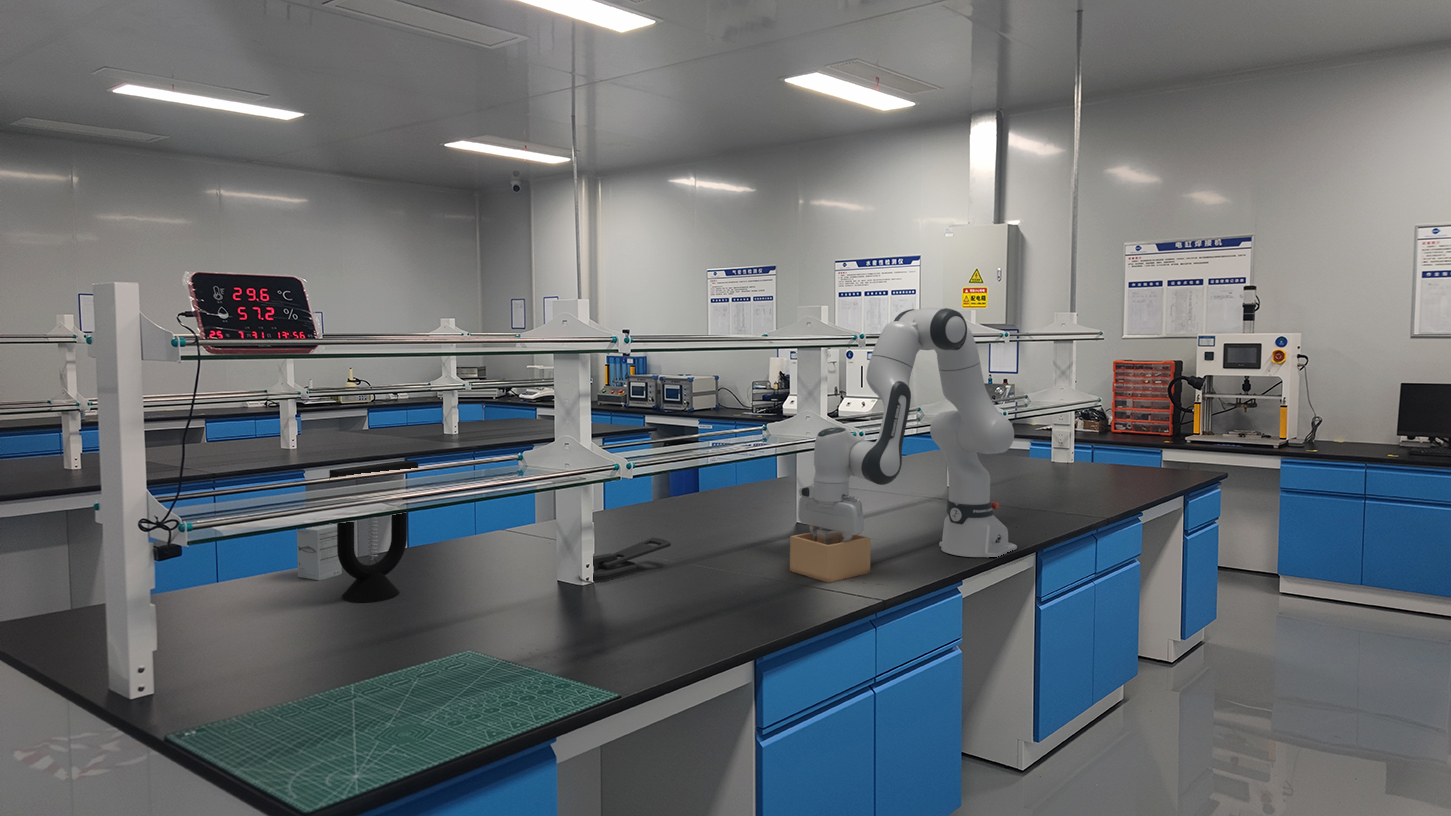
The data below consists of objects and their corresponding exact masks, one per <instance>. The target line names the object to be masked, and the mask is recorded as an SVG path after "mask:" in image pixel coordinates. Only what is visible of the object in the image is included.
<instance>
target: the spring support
mask: <svg viewBox="0 0 1451 816" xmlns="http://www.w3.org/2000/svg"><path fill="white" fill-rule="evenodd" d="M411 468H419V463H418V462H417V461H413V460H406V459H405V460H398V461H397V460H396V461H389V462H383V463H382V462H381V463H375V464H366V465H357V466H350V467H342V468H336V469H335V468H334V469H329V472H328V473H329V479H330V478H331V477H338V476H346V475H354V474H361V473H371V472H380V471H389V470H400V469H411ZM390 516H391V515H390ZM373 518H374V519H371V518H369V519H368V522H369V523H368V537H369V538H368V541H369V542H368V545H369V546H368V548H369V549H368V556H370V557H371V558H370V561H369V562H368V564H365V563H362V562H360V561H359V559H358V557H357V555H356V552H355V521H354V522H346V523H338V524H337V523H336V525H337V553H338V558H339V561H340V564H341V566H342V569H343V570H344V571H345V572H346V573H347V574H348V575H349V576H351V577H352V578H354V579H355V580H354V581H353V582H352V583H351V585H350V586H349V587H348V588H347V589H346V590H345V591H344V593H343V594H342V596H341V597H342V599H343V600H345V601H348V602H353V603H373V602H375V603H376V602H381V601H382V602H383V601H386V600H387V601H388V600H390V599H393V598H396V597H397V596H399V594H400V590H399V589H398V588H397V586H395V585H394V584H393V583H392V582H391V581H390V579H389V578H388V577H387V576H386V575H388V574H389V573H390V572H392V571H393V570H394V568H396V567H397V566H398V563H400V561H401V559H402V557H403V555H404V553H405V550H406V546H407V542H408V540H407V539H408V512H407V513H402V514H396V515H392V516H391V517H390V518H391V519H390V520H391V521H390V525H391V526H390V527H391V528H390V530H391V532H390V533H391V534H390V535H391V537H390V545H389V547H388V550H387V551H386V553H385V555H384V556H383V557H382V558H381V559H380V560H378V561H377V559H375V558H376V557H379V555H378V554H377V553H379V551H378V549H379V547H377V546H378V545H379V543H377V542H379V540H378V539H376V538H378V537H379V536H378V534H379V532H373V531H379V529H378V528H376V527H379V525H378V524H377V523H379V522H378V521H377V520H378V519H379V517H377V518H376V517H373ZM375 520H376V521H375ZM374 527H375V528H374ZM375 535H376V536H375ZM375 542H376V543H375ZM373 561H375V563H373V564H370V562H373Z"/></svg>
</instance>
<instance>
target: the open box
mask: <svg viewBox="0 0 1451 816" xmlns="http://www.w3.org/2000/svg"><path fill="white" fill-rule="evenodd" d="M789 537H790V539H789V540H790V542H789V543H790V544H789V546H790V547H789V571H790V572H791V571H792V572H791V573H794V574H799V575H801V576H804V575H805V576H804V577H808V578H811V579H814V580H818V581H821V582H825V583H828V584H829V583H833V582H838V581H840V580H841V581H842V580H844V579H845V578H846V579H849V578H853V577H857V576H858V575H859V576H863V575H867V574H871V546H872V544H871V542H872V541H871V538H872V537H869V536H865V535H862V534H858V535H852V538H851V540H850V541H847V542H842V543H837V544H832V545H826V544H822V543H818V542H814V541H813V536H812V534H811V532H807V533H806V532H805V533H801V534H795V535H790V536H789ZM846 579H845V580H846Z"/></svg>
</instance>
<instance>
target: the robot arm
mask: <svg viewBox="0 0 1451 816" xmlns="http://www.w3.org/2000/svg"><path fill="white" fill-rule="evenodd" d="M920 350H921V351H932V350H934V351H935V354H936V359H937V367H938V372H939V377H940V384H941V391H942V394H943V396H944V398H945V399H946V400H947V401H948V402H950V403H951V404H952V405H953V406H954V408H955V409H956V410H949V411H943V412H939V413H937V414H936V415H935V416H934V417H933V418H932V420H931V423H930V427H929V432H930V436H931V439H932V441H933V442H934V443H935V444H936V445H937V446H938V448H939V449H940V451H941V453H942V455H943V458H944V460H945V464H946V468H947V472H948V475H947V476H948V500H946V513H947V516H946V517H945V518H944V523H943V530H942V539H941V540H940V541H939V545H938V546H939V547H940V548H941V551H942V552H943V553H945V554H950V555H954V556H960V557H967V558H968V557H969V558H989V557H997V558H999V557H1001V555H1002V556H1003V554H1004V555H1006V554H1008V553H1007V552H1009V553H1011V552H1013V551H1015V550H1018V545H1016V544H1014V543H1012V542H1009V530H1008V528H1007V527H1006V525H1004V524H1003V523H1002V522H1001V521H1000V520H999V519H998V518H997V517H996V516H995V515H994V513H995V512H994V510H998V509H999V508H1000V503H999V502H994V501H991V474H990V473H989V471H988V469H986V467H985V466H983V465H982V463H981V461H980V460H979V457H978V454H984V455H996V454H1003V453H1006V452H1007V451H1009V449H1010V448H1011V447H1012V444H1013V442H1014V440H1015V429H1014V427H1013V424H1012V422H1011V421H1010V420H1009V419H1008V418H1007V417H1005V416H1004V415H1003V414H1002V413H1001V412H1000V411H999V410H998V408H997V407H996V406H995V404H994V402H993V401H992V399H991V397H990V395H989V393H988V391H987V388H986V385H985V380H984V375H983V371H982V367H981V366H982V365H981V360H980V355H979V350H978V346H977V343H976V341H975V338H974V335H973V333H972V330H971V329H970V328H969V327H968V326H967V321H966V319H965V317H964V316H963V314H962V313H961V312H959V311H957V310H956V309H953V308H947V307H946V308H938V307H924V308H918V309H914V308H912V309H907V310H904V311H902V312H900V313H899V314H898V315H897V316H896V317H895V318H894V320H893V321H890V322H889V323H887V324H886V325H885V326H884V327H883V329H882V331H881V333H880V335H879V337H878V339H877V341H876V343H875V345H874V348H873V350H872V352H871V356H870V358H869V362H868V365H867V370H866V381H867V384H868V386H869V388H870V389H871V391H872V392H873V393H874V394H875V395H876V396H877V397H879V398H880V400H881V401H882V404H883V414H882V419H881V423H880V424H881V425H880V427H879V433H878V437H877V439H876V441H870V440H866V439H863V438H860V437H858V436H855V435H853V434H852V433H850V432H849V431H848V430H847V429H846V428H844V427H840V426H839V427H836V426H835V427H828V428H825V429H822V430H820V431H819V432H818V433H817V435H816V436H815V437H816V438H815V441H814V449H813V450H814V451H813V465H814V470H815V472H814V477H813V483H812V484H810V485H807V486H803V487H802V486H801V487H799V488H798V489H799V491H798V493H799V496H801V497H800V498H799V500H798V509H797V510H798V519H799V520H798V521H799V522H800V523H801V524H805V525H809V531H810V533H811V534H812V536H813V541H814V542H817V530H820V529H829V530H833V531H837V532H842V537H844V539H843V541H842V542H847V541H850V540H851V538H852V535H862V534H863V532H864V530H865V519H864V517H865V516H864V511H863V503H862V502H861V500H860V499H859V498H858V497H856V496H850V495H849V491H850V490H849V489H850V477H851V476H853V477H857V478H859V479H862V480H867V481H869V482H872V483H874V484H876V485H880V486H884V485H888V484H890V483H892V482H893V481H894V480H895V479H897V477H898V476H899V474H900V471H901V470H902V463H903V443H904V439H905V438H904V437H905V433H906V428H907V422H908V418H909V414H910V413H909V412H910V407H911V401H912V400H911V399H912V393H911V388H910V381H911V375H912V372H913V368H914V365H915V361H916V357H917V354H918V353H919V352H920ZM842 542H841V543H842ZM1012 550H1013V551H1012ZM1010 551H1011V552H1010ZM998 556H999V557H998Z"/></svg>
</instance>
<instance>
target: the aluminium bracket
mask: <svg viewBox="0 0 1451 816" xmlns="http://www.w3.org/2000/svg"><path fill="white" fill-rule="evenodd" d="M843 539H844V537H842V532H837V531H833V530H829V529H825V528H819V529H818V530H817V542H818V543H822V544H826V545H832V544H837V543H841V542H842V541H843Z"/></svg>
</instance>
